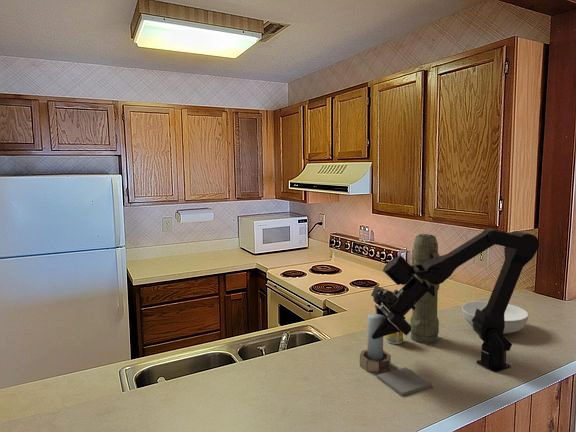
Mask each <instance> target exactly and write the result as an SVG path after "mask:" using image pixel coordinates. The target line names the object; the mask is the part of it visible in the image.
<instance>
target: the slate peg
mask: <svg viewBox="0 0 576 432" xmlns="http://www.w3.org/2000/svg"><path fill="white" fill-rule="evenodd" d="M382 321H383V316H382V315H380V314H376V313H369V314H368V315H367V327H366V328H367V350H368V358H369V359H372V360H375V361H377V360H381V359H383V350H384V336H383V337H380V338H377V339H373V338H372V335H373V333H374V332H375V331H376V329H377V328H378V327H379V325H380V324H381V323H382Z"/></svg>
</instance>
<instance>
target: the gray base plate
mask: <svg viewBox="0 0 576 432" xmlns="http://www.w3.org/2000/svg"><path fill="white" fill-rule="evenodd" d="M376 379H377V380H379V381H380V382H382V383H383V384H384V385H385V386H386V387H388V388H389V389H391V390H393V391H394V392H396V394H398V395H399V396H401V397H404V396H406V395H409V394H413V393H417V392H419V391H423V390H426V389H429V388H432V387H433V383H431V382H430V381H429V380H427V379H425V378H424V377H422V376H421V375H419V374H417V373H415V372H414V371H412V370H411V369H409V367H408V368H407V366H405V367H402V368H397V369H395V370H389V371H385V372H382V373H378V374H376Z"/></svg>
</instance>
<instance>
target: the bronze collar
mask: <svg viewBox="0 0 576 432" xmlns="http://www.w3.org/2000/svg"><path fill="white" fill-rule="evenodd" d="M391 365H392V355H391V354H390V353H389V352H387V351H385V350H384V349H383V359H381V360H372V359H369V358H368V349H365V350H361V351H360V354H359V367H361V368H362V369H363V370H364V371H366V372H370V373H377V374H382V373H386V372H390V371H391V370H390V369H391Z"/></svg>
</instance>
